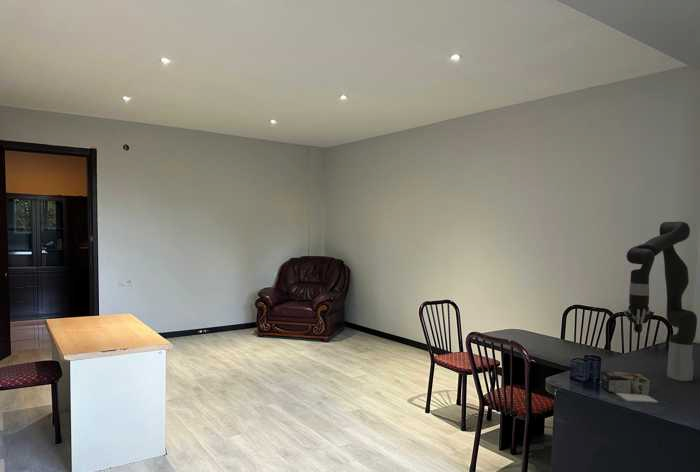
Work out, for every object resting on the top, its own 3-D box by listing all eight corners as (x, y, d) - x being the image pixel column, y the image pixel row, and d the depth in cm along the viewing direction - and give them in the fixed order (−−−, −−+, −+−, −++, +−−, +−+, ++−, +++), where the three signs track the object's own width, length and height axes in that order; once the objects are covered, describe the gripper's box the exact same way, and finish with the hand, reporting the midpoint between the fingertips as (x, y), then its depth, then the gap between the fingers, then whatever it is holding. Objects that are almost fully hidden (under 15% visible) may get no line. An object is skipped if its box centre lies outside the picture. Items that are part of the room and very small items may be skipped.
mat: (627, 384, 217) (627, 383, 217) (657, 402, 195) (657, 401, 195) (599, 383, 217) (599, 381, 217) (627, 401, 195) (627, 400, 195)
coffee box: (650, 380, 202) (609, 377, 204) (648, 395, 202) (608, 391, 204) (639, 373, 211) (601, 370, 213) (638, 387, 211) (599, 384, 213)
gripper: (648, 292, 216) (647, 330, 217) (619, 292, 216) (618, 330, 217) (659, 294, 209) (658, 334, 210) (629, 294, 209) (628, 334, 209)
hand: (637, 332), depth 213 cm, fingers closed
